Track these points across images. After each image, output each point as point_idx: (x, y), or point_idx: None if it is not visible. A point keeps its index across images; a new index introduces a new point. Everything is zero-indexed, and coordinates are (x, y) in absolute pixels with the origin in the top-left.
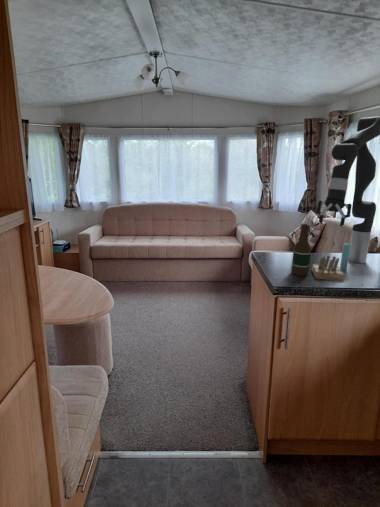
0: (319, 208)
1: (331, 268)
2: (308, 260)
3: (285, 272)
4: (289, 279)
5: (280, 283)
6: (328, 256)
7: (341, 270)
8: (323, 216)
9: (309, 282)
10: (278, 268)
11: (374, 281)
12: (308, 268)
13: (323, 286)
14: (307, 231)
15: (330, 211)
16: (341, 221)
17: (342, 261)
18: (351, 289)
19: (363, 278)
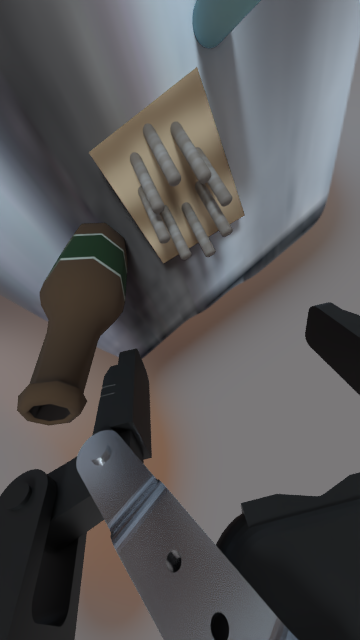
0: (70, 623)
1: (184, 158)
2: (124, 273)
3: None
4: None
5: (124, 345)
6: (174, 183)
7: (207, 45)
8: (137, 423)
9: (164, 296)
10: (11, 249)
11: (343, 102)
12: (124, 248)
13: (201, 296)
14: (86, 372)
15: (249, 501)
16: (344, 371)
17: (220, 26)
18: (262, 266)
19: (305, 88)
